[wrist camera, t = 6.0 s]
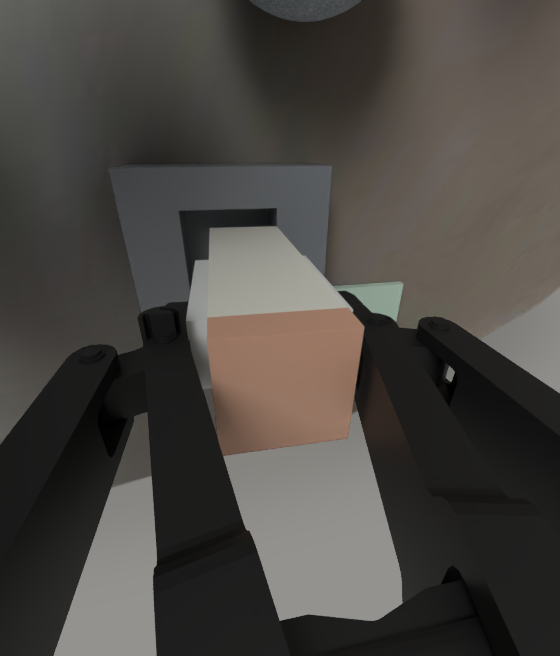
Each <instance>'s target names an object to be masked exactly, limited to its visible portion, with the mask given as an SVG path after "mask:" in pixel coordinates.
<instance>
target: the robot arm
mask: <svg viewBox="0 0 560 656" xmlns="http://www.w3.org/2000/svg"><path fill="white" fill-rule="evenodd" d="M303 257H304V258H305V259H306V260H307V262H308V263H309V264H310V265H311V266H312V267H313V268H314V270H315V271H316V272H317V273H318V274H319V275H320V276H321V278H322V279H323V280H324V281H325V282H326V283H327V284H328V285H329V287H330V288H331V289H332V290H333V291H334V292H335V293H336V295H337V296H338V297H339V298H340V299H341V300H342V301H343V303H344V304H345V305H346V306H347V307H348V308H349V309H350V311H351V312H352V313H353V314H354V315H355V316H356V317H357V319H358V320H359V321H360V322H361V323H362V324H363V325H364V334H363V341H362V347H361V354H360V361H359V367H358V374H357V381H356V387H355V394H354V398H355V402H356V405H357V409H358V413H359V417H360V420H361V424H362V428H363V432H364V435H365V439H366V443H367V447H368V450H369V454H370V458H371V462H372V465H373V469H374V473H375V476H376V480H377V484H378V488H379V492H380V495H381V499H382V502H383V506H384V510H385V514H386V517H387V521H388V525H389V529H390V532H391V536H392V540H393V544H394V548H395V551H396V555H397V559H398V563H399V566H400V571H401V577H402V601H403V604H401V605H400V606H398V607H397V608H396V609H394V610H393V611H391V612H390V613H388V614H387V615H385V616H384V617H382V618H381V619H379V620H376V621H364V620H355V619H345V618H336V617H326V616H317V615H304V616H300V617H296V618H291V619H286V620H282V621H279V618H278V615H277V612H276V608H275V605H274V602H273V599H272V596H271V593H270V589H269V586H268V583H267V580H266V577H265V574H264V571H263V567H262V564H261V561H260V558H259V555H258V552H257V549H256V546H255V543H254V540H253V538H252V536H251V534H250V531H247V530H246V528H245V526H244V524H243V520H242V517H241V514H240V511H239V507H238V504H237V501H236V497H235V494H234V491H233V487H232V484H231V481H230V478H229V475H228V471H227V468H226V464H225V461H224V458H223V454H222V451H221V448H220V445H219V441H218V438H217V435H216V431H215V428H214V425H213V421H212V418H211V415H210V412H209V408H208V405H207V402H206V398H205V395H204V392H203V389H211V388H212V382H211V373H210V364H209V355H208V346H207V311H208V271H209V260H195V265H194V271H193V278H192V284H191V290H190V297H189V301H186V302H170V303H167V304H166V305H165V306H158V307H154V308H150V309H148V310H145V311H143V312H142V313H141V314H139V316H138V322H139V326H140V331H141V335H142V340H143V347H142V348H140V349H137V350H135V351H131V352H128V353H124V354H120V355H118V354H117V351H116V349H115V348H114V347H113V346H110V345H102V344H99V345H90V346H87V347H83V348H81V349H79V350H77V351H76V352H74V353H72V354H71V355H70V356H69V357H68V358H67V359H66V360H65V362H64V363H63V364H62V365H61V367H60V368H59V369H58V371H57V372H56V373H55V374H54V376H53V377H52V378H51V380H50V381H49V382H48V384H47V385H46V386H45V387H44V389H43V390H42V391H41V393H40V394H39V395H38V397H37V398H36V399H35V400H34V402H33V403H32V404H31V406H30V407H29V408H28V409H27V411H26V412H25V413H24V415H23V416H22V417H21V419H20V420H19V421H18V422H17V424H16V425H15V426H14V428H13V429H12V430H11V432H10V433H9V434H8V435H7V437H6V438H5V439H4V441H3V442H2V443H1V444H0V656H53V655H54V652H55V649H56V647H57V643H58V641H59V638H60V635H61V632H62V629H63V626H64V623H65V620H66V617H67V614H68V611H69V609H70V606H71V603H72V600H73V597H74V594H75V591H76V588H77V585H78V582H79V579H80V576H81V574H82V571H83V568H84V565H85V562H86V559H87V556H88V553H89V550H90V548H91V545H92V542H93V539H94V536H95V533H96V530H97V527H98V524H99V521H100V518H101V515H102V512H103V510H104V507H105V504H106V501H107V498H108V495H109V492H110V489H111V486H112V484H113V481H114V478H115V475H116V472H117V469H118V466H119V463H120V460H121V457H122V454H123V452H124V449H125V446H126V443H127V440H128V437H129V434H130V431H131V428H132V425H133V422H134V416H135V415H138V414H141V413H144V412H147V411H148V425H149V440H150V456H151V471H152V485H153V501H154V516H155V531H156V546H157V566H156V567H155V568H154V575H153V586H154V587H153V590H154V612H155V631H156V650H157V656H560V393H558V392H557V391H555V390H554V389H552V388H550V387H549V386H548V385H546V384H545V383H543V382H542V381H540V380H539V379H537V378H536V377H534V376H533V375H531V374H530V373H528V372H527V371H525V370H524V369H522V368H521V367H519V366H518V365H516V364H515V363H513V362H512V361H510V360H509V359H507V358H506V357H504V356H503V355H501V354H500V353H498V352H497V351H495V350H494V349H492V348H491V347H489V346H488V345H487V344H485V343H484V342H482V341H481V340H479V339H478V338H476V337H475V336H473V335H472V334H470V333H469V332H467V331H466V330H464V329H463V328H461V327H460V326H458V325H457V324H455V323H453V322H451V321H449V320H446V319H444V318H441V317H439V318H438V317H426V318H422V319H421V320H419V323H418V327H417V329H409V328H399V326H398V325H397V323H396V322H395V321H394V320H393V319H392V318H391V317H389V316H387V315H383V314H380V313H372V312H371V311H370V310H369V309H368V308H367V307H366V306H365V305H363V303H362V302H361V301H359V299H358V298H357V297H356V296H355V295H354V294H352V293H349V292H347V291H336V289H335V288H334V287H333V286H332V285H331V284H330V283H329V282H328V280H327V279H326V278H325V277H324V276H323V275H322V274H321V273H320V271H319V270H318V269H317V268H316V267H315V266H314V265H313V263H312V262H311V261H310V260H309V259H308V258H307V257H306V256H303ZM449 366H450V367H451V368H453V370H454V371H455V374H454V377H453V380H452V382H450V381H448V380H447V379H446V378H445V377H446V374H447V370H448V368H449Z"/></svg>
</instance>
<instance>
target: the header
mask: <svg viewBox="0 0 560 656" xmlns="http://www.w3.org/2000/svg"><path fill="white" fill-rule="evenodd" d="M108 171H109V175H110V179H111V184H112V188H113V193H114V197H115V201H116V206H117V210H118V215H119V219H120V223H121V228H122V232H123V236H124V241H125V245H126V250H127V254H128V258H129V263H130V267H131V272H132V276H133V280H134V285H135V289H136V293H137V298H138V302H139V307H140V311H141V313H142V312H143V311H145V310H148V309H150V308H154V307H158V306H165V305H166V304H167V303H170V302H186V301H189V297H190V290H191V284H192V278H193V271H194V265H195V260H209V232H210V228H227V227H266V226H277V227H278V228H279V230H280V231H281V232H282V233H283V234H284V235H285V236H286V238H287V239H288V240H289V241H290V242H291V243H292V244H293V246H294V247H295V248H296V249H297V250H298V251H299V252H300V254H301V255H302V256H306V257H307V258H308V259H309V260H310V261H311V262H312V263H313V265H314V266H315V267H316V268H317V269H318V270H319V271H320V273H321V274H322V275H323V276H324V277H325V263H326V248H327V234H328V219H329V205H330V190H331V175H332V166H330V165H323V164H316V163H257V164H126V165H120V166H115V167H109V168H108Z"/></svg>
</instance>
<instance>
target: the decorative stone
mask: <svg viewBox="0 0 560 656" xmlns="http://www.w3.org/2000/svg"><path fill="white" fill-rule="evenodd" d="M250 1H251V2H252V3H253V4H254V5H256V6H257V7H259V8H260V9H262V10H264V11H266V12H268V13H270V14H272V15H274V16H276V17H279V18H283V19H286V20H290V21H298V22H314V21H320V20H324V19H328V18H331V17H334V16H336V15H339V14H341V13H343V12H345V11H347V10H349V9H350V8H352V7H353V6H355V5H356V4H358V3H359V2H361V1H362V0H250Z"/></svg>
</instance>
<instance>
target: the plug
mask: <svg viewBox="0 0 560 656" xmlns="http://www.w3.org/2000/svg"><path fill="white" fill-rule="evenodd" d="M363 334H364V325H363V324H362V323H361V322H360V321H359V320H358V319H357V317H356V316H355V315H354V314H353V313H352V312H351V311H350V309H349V308H348V307H347V306H346V305H345V304H344V303H343V301H342V300H341V299H340V298H339V297H338V296H337V295H336V293H335V292H334V291H333V290H332V289H331V288H330V287H329V285H328V284H327V283H326V282H325V281H324V280H323V279H322V278H321V276H320V275H319V274H318V273H317V272H316V271H315V270H314V268H313V267H312V266H311V265H310V264H309V263H308V262H307V260H306V259H305V258H304V257H303V256H302V255H301V254H300V252H299V251H298V250H297V249H296V248H295V247H294V246H293V244H292V243H291V242H290V241H289V240H288V239H287V238H286V236H285V235H284V234H283V233H282V232H281V231H280V230H279V228H278V227H277V226H266V227H227V228H210V232H209V271H208V311H207V346H208V355H209V364H210V373H211V382H212V391H213V400H214V409H215V418H216V427H217V436H218V441H219V445H220V448H221V451H222V454H223V456H225V455H232V454H238V453H246V452H253V451H261V450H268V449H275V448H282V447H289V446H297V445H304V444H311V443H318V442H325V441H332V440H340V439H347V438H348V434H349V427H350V421H351V414H352V407H353V401H354V394H355V387H356V381H357V374H358V367H359V361H360V354H361V347H362V341H363Z"/></svg>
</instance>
